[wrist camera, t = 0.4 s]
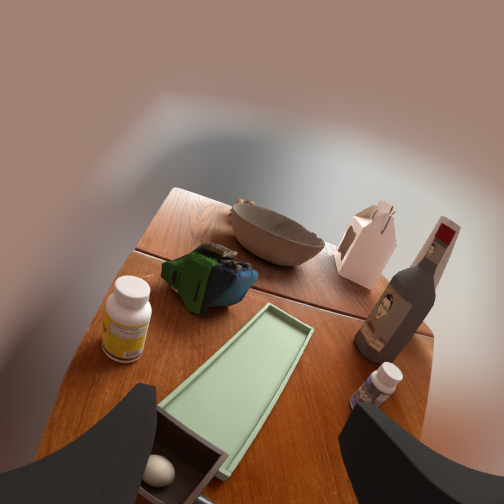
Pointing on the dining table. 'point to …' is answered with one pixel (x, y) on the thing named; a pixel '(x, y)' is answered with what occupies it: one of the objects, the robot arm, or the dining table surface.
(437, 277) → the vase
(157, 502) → the brown rectangular box
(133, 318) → the supplement bottle
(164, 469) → the ball
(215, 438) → the tray
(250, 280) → the sculpture
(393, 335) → the liquor
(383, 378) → the pill bottle
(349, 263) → the cardboard gift box
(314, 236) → the bowl
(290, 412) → the dining table surface
